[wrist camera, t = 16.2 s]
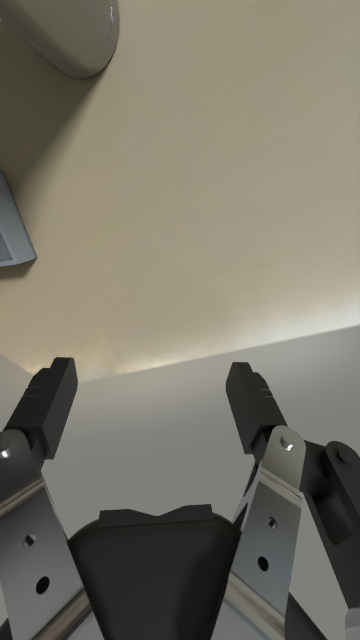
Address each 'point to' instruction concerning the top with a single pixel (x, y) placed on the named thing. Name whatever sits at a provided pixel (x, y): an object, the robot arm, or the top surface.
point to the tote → (12, 230)
